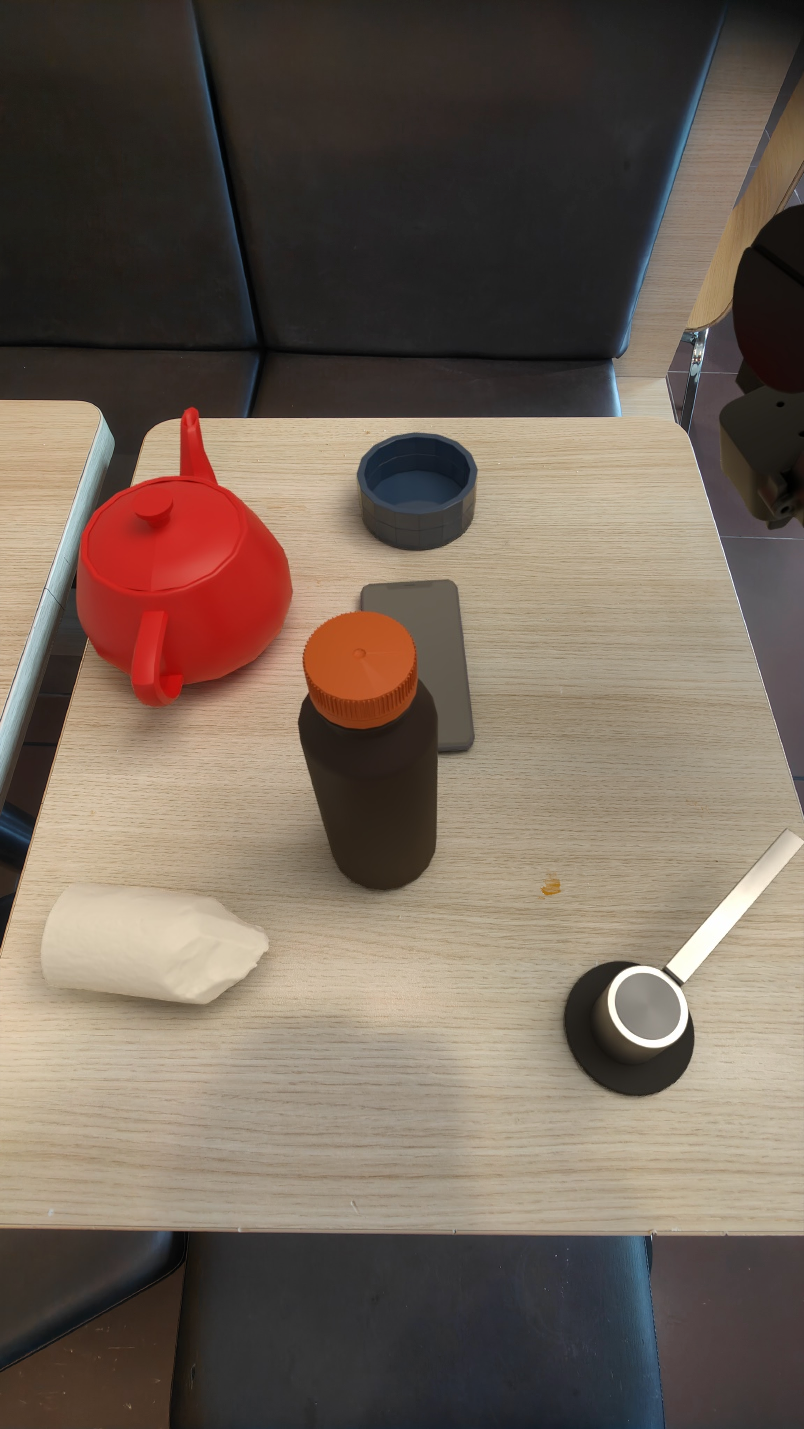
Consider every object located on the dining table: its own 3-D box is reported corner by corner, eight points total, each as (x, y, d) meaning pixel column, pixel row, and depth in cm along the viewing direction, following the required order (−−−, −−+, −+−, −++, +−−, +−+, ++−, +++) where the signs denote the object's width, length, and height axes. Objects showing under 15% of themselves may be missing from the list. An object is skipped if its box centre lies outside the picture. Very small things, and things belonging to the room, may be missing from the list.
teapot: (287, 751, 54) (254, 642, 44) (64, 754, 54) (-21, 648, 44) (309, 498, 67) (288, 370, 57) (130, 503, 68) (77, 376, 57)
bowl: (458, 462, 69) (459, 424, 66) (488, 538, 64) (491, 501, 61) (351, 481, 68) (347, 443, 65) (373, 559, 63) (370, 523, 60)
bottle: (456, 827, 50) (469, 634, 34) (397, 913, 48) (379, 749, 31) (371, 777, 53) (342, 571, 36) (309, 856, 50) (246, 673, 33)
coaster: (662, 951, 46) (664, 948, 45) (713, 1078, 42) (716, 1077, 42) (547, 978, 45) (548, 976, 45) (589, 1110, 42) (591, 1109, 41)
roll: (267, 1022, 44) (247, 999, 40) (66, 996, 46) (24, 972, 41) (288, 918, 48) (272, 886, 43) (100, 897, 49) (64, 864, 44)
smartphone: (364, 752, 53) (359, 582, 60) (365, 759, 53) (360, 590, 61) (476, 745, 53) (457, 576, 60) (475, 752, 53) (456, 585, 61)
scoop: (732, 849, 49) (764, 810, 44) (790, 894, 47) (829, 859, 42) (574, 1024, 43) (591, 1001, 39) (632, 1082, 42) (658, 1065, 37)
